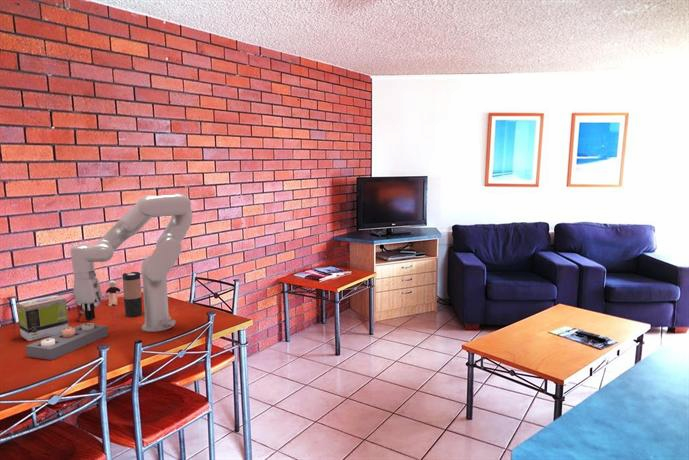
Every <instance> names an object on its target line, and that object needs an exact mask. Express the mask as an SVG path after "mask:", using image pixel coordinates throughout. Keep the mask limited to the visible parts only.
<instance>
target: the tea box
mask: <svg viewBox="0 0 689 460" xmlns="http://www.w3.org/2000/svg"><path fill="white" fill-rule="evenodd" d="M16 306H17V313H18V323H19V331H20V337H22V338H23V339H25V340H26V341H28V342H31V341H35V340H39V339H40V340H41V339H45V338H48V337H50V336H53V335H56V334H58V333H61V332H62V329H63V328H66V327H70V326H69V318H68V309H67V299H66V298H64V297H62V296H61V295H57V294H56V295H55V294H54V295H50V296H45V297H41V298H34V299H30V300H25V301H19V302H17V303H16Z"/></svg>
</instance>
